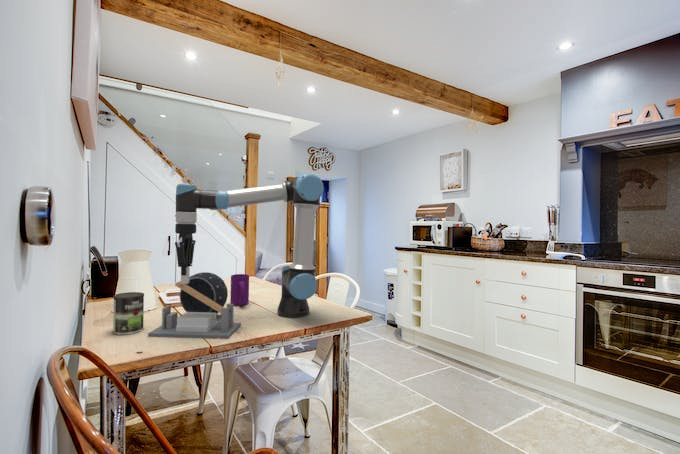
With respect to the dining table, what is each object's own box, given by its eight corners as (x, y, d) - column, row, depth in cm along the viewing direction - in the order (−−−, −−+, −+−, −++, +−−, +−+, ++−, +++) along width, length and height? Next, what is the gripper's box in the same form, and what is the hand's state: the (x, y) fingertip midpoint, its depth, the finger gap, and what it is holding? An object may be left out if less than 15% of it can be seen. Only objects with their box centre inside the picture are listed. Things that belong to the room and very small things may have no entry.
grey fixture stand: (240, 325, 146) (241, 301, 146) (228, 338, 130) (228, 311, 130) (169, 323, 147) (169, 299, 147) (147, 336, 131) (148, 309, 131)
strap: (230, 315, 140) (232, 311, 140) (226, 318, 136) (229, 314, 136) (178, 284, 140) (181, 280, 140) (174, 286, 136) (176, 281, 136)
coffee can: (149, 329, 139) (149, 294, 138) (121, 336, 130) (121, 298, 129) (135, 324, 144) (135, 290, 144) (107, 331, 135) (107, 295, 135)
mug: (247, 301, 188) (247, 273, 188) (252, 308, 174) (252, 278, 174) (229, 302, 185) (229, 274, 184) (233, 310, 170) (233, 279, 170)
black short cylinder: (217, 322, 150) (218, 275, 150) (176, 318, 154) (176, 273, 154) (230, 315, 161) (230, 272, 160) (191, 312, 165) (191, 269, 164)
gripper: (184, 222, 144) (183, 280, 145) (168, 223, 131) (167, 286, 132) (202, 223, 144) (201, 280, 145) (188, 223, 131) (187, 286, 132)
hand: (185, 283), depth 138 cm, fingers closed
